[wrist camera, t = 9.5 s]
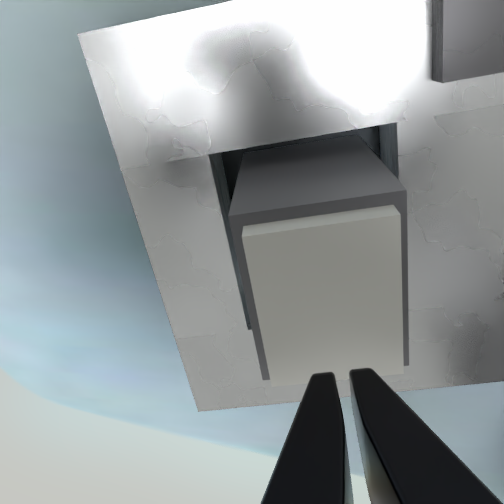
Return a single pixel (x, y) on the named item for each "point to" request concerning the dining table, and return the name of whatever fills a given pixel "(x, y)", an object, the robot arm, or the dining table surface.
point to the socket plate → (308, 125)
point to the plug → (323, 259)
